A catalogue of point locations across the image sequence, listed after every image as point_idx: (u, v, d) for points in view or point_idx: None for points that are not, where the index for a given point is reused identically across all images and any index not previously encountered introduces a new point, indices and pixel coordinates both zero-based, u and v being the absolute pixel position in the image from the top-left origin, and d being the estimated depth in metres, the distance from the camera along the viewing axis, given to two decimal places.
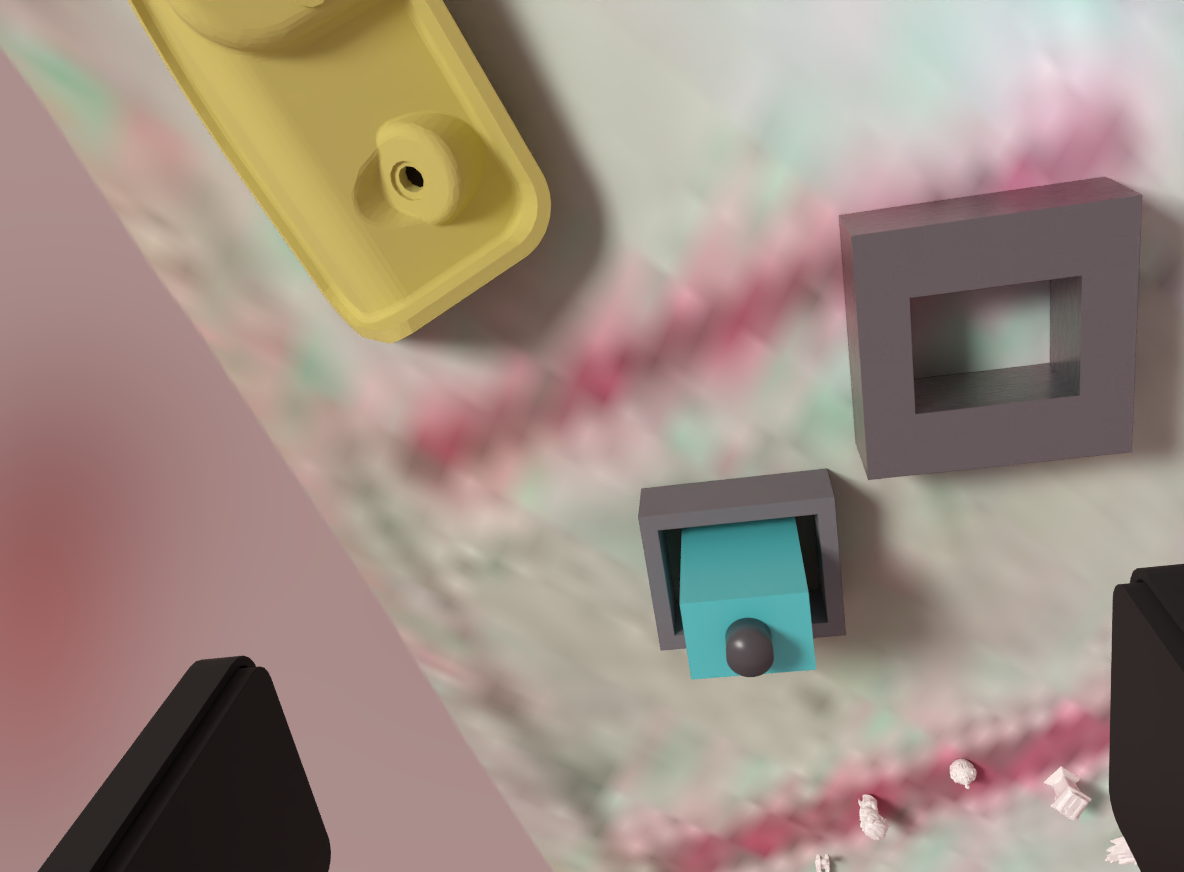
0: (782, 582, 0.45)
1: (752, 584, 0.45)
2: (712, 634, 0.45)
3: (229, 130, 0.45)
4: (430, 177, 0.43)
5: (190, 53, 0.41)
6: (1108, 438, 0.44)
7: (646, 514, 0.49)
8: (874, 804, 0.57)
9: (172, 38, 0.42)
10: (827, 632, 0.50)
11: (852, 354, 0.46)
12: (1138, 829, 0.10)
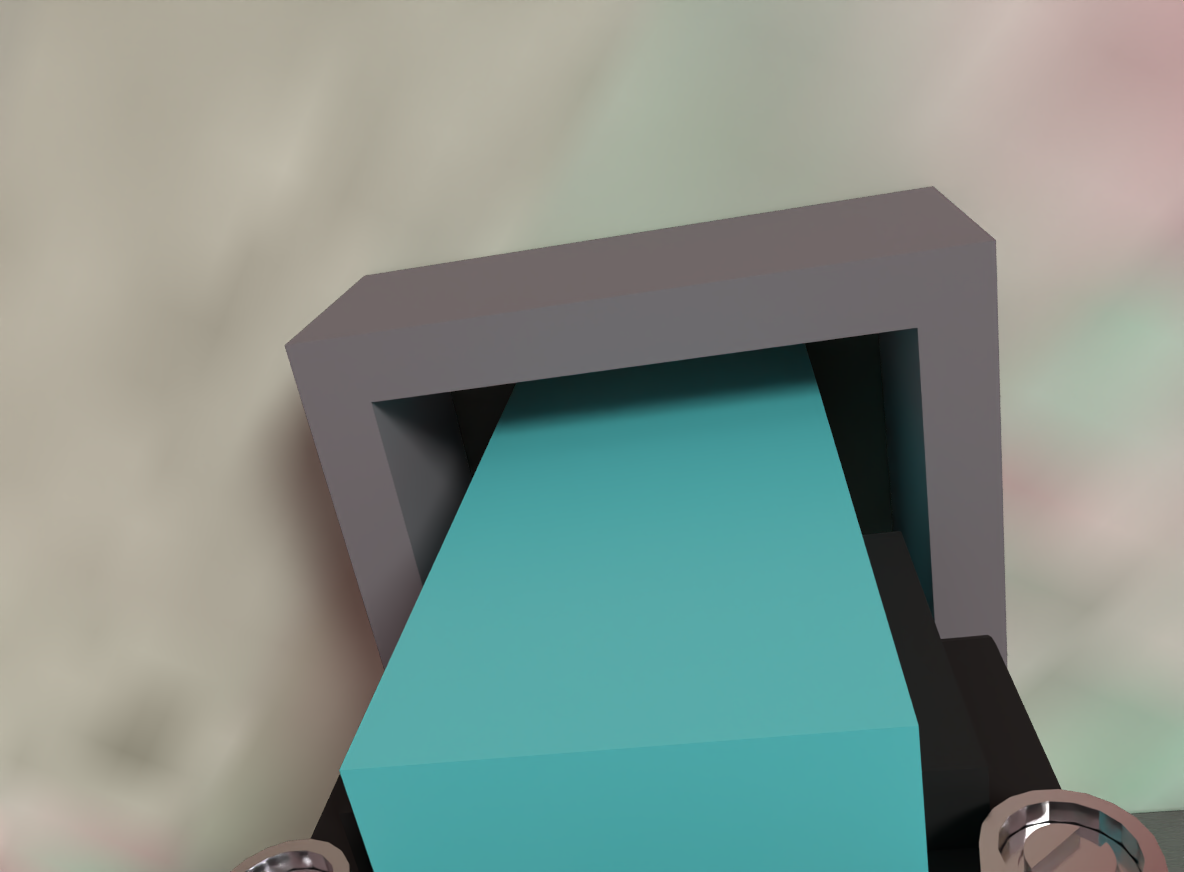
0: None
1: None
2: None
3: None
4: None
5: None
6: None
7: None
8: None
9: None
10: None
11: None
12: None
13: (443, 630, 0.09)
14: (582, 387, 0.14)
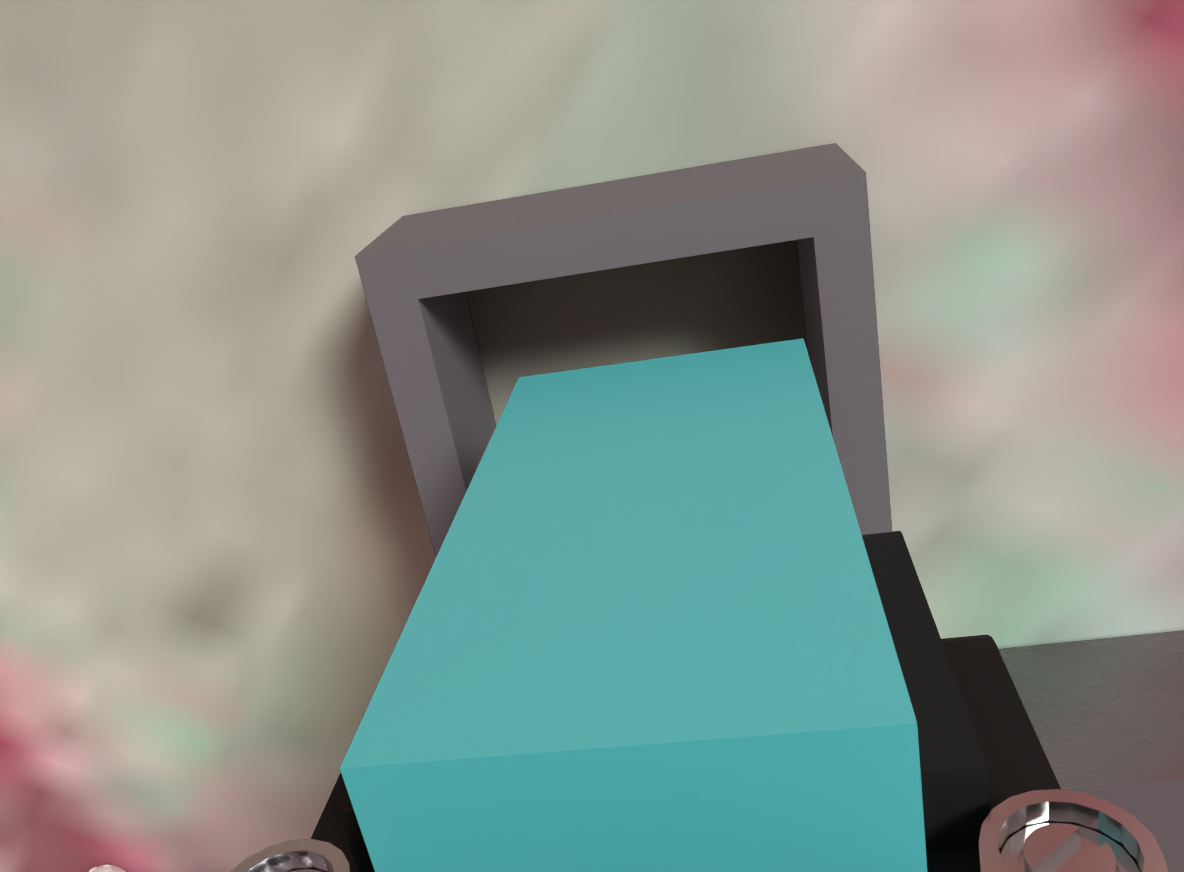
0: None
1: None
2: None
3: None
4: None
5: None
6: None
7: None
8: None
9: None
10: None
11: None
12: None
13: (443, 629, 0.09)
14: (582, 386, 0.14)
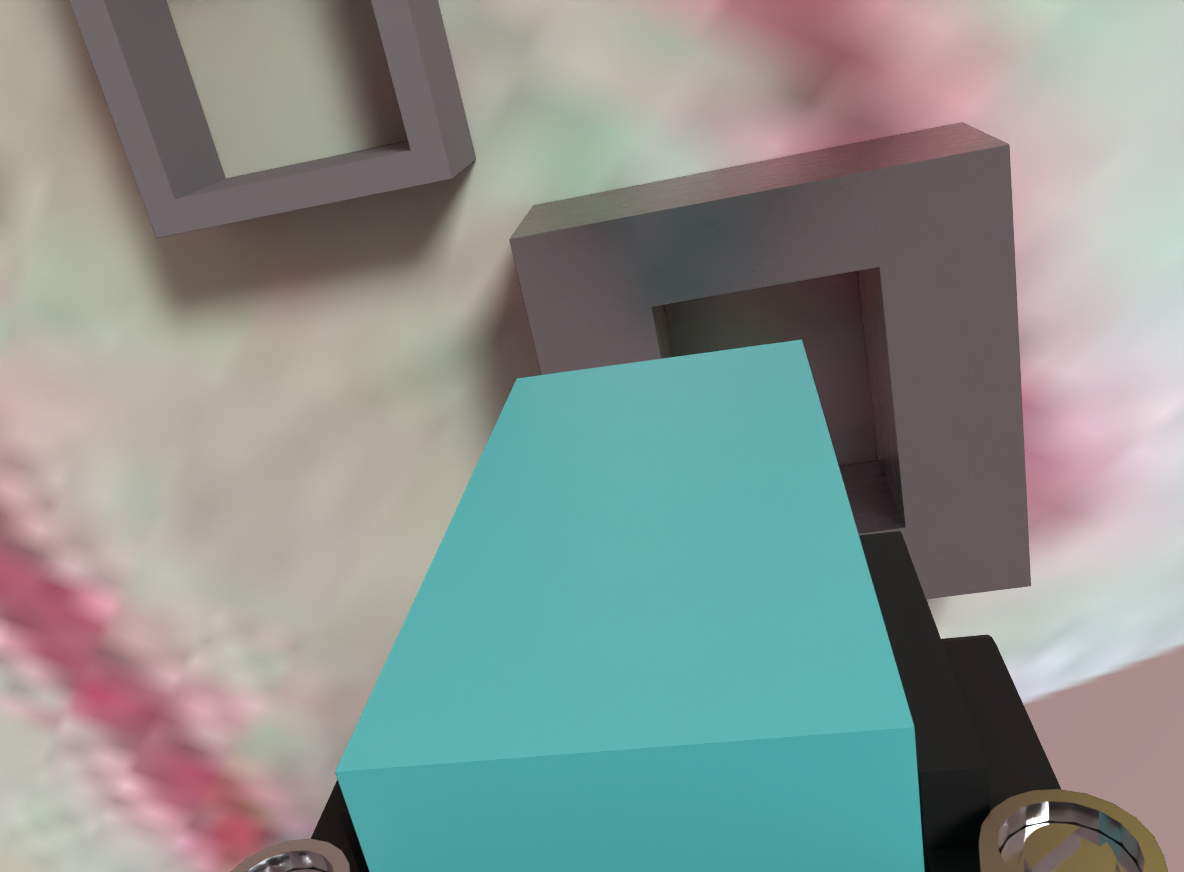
0: None
1: None
2: None
3: None
4: None
5: None
6: None
7: None
8: None
9: None
10: (150, 200, 0.25)
11: (723, 178, 0.25)
12: None
13: (440, 631, 0.09)
14: (580, 388, 0.14)
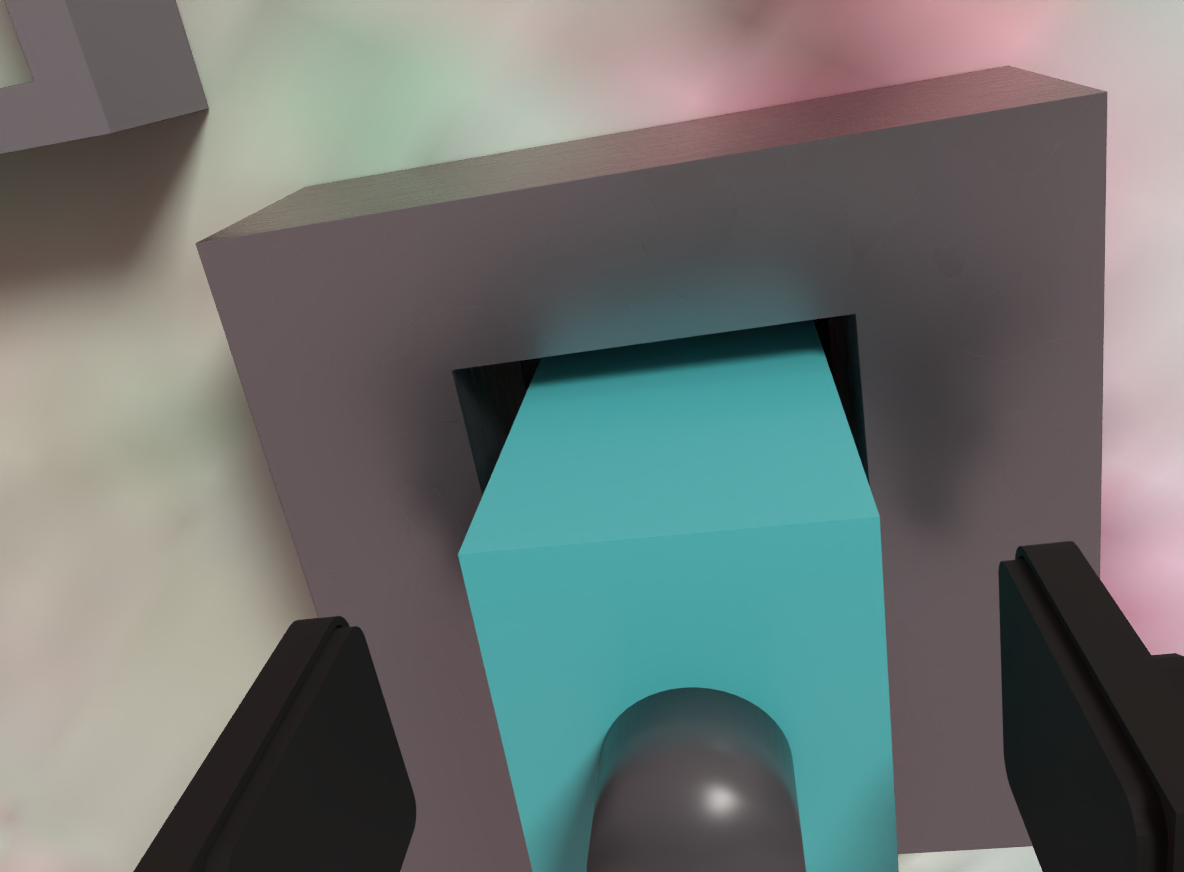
0: None
1: None
2: (706, 640, 0.10)
3: None
4: None
5: None
6: (435, 837, 0.17)
7: None
8: None
9: None
10: None
11: (598, 147, 0.15)
12: (1023, 790, 0.11)
13: (522, 475, 0.11)
14: None
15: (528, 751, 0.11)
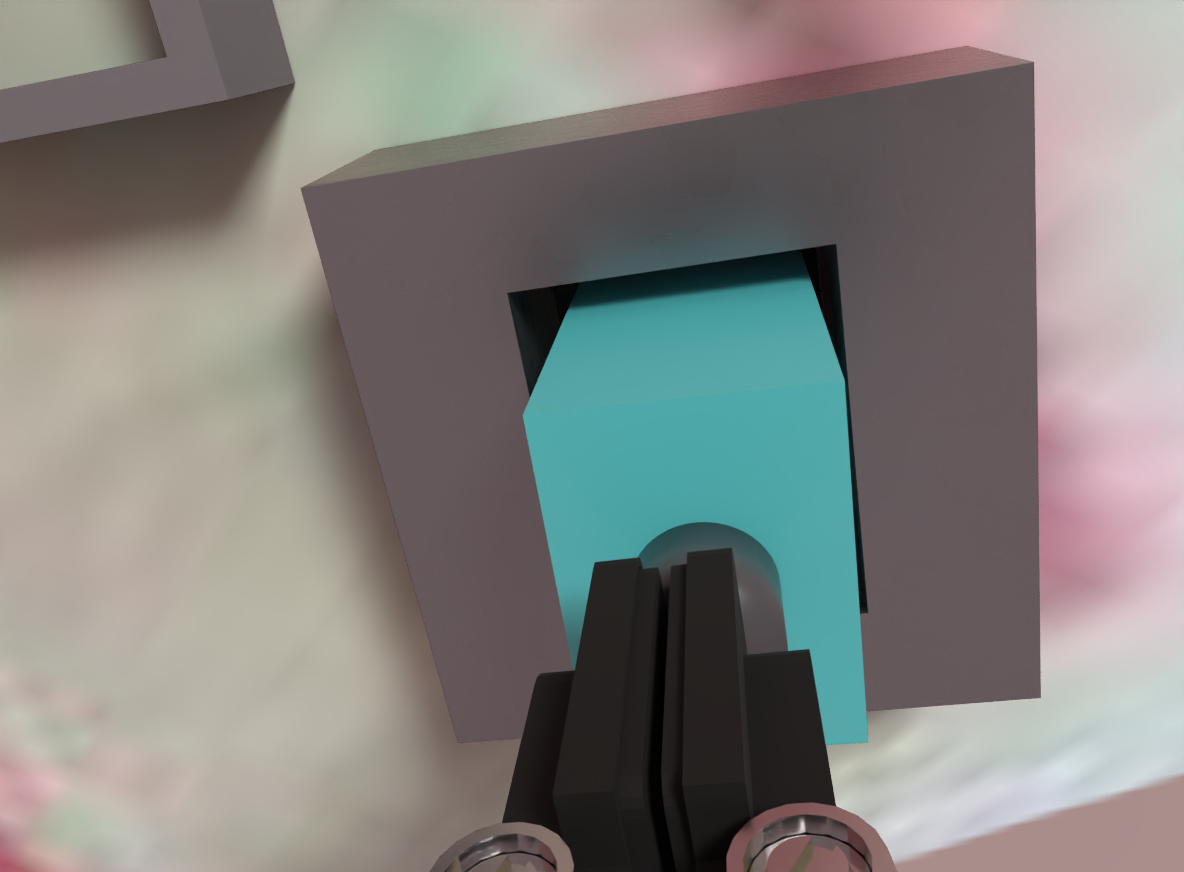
0: None
1: None
2: (713, 482, 0.13)
3: None
4: None
5: None
6: (484, 700, 0.20)
7: None
8: None
9: None
10: None
11: (625, 113, 0.18)
12: None
13: (568, 366, 0.14)
14: None
15: (573, 578, 0.14)
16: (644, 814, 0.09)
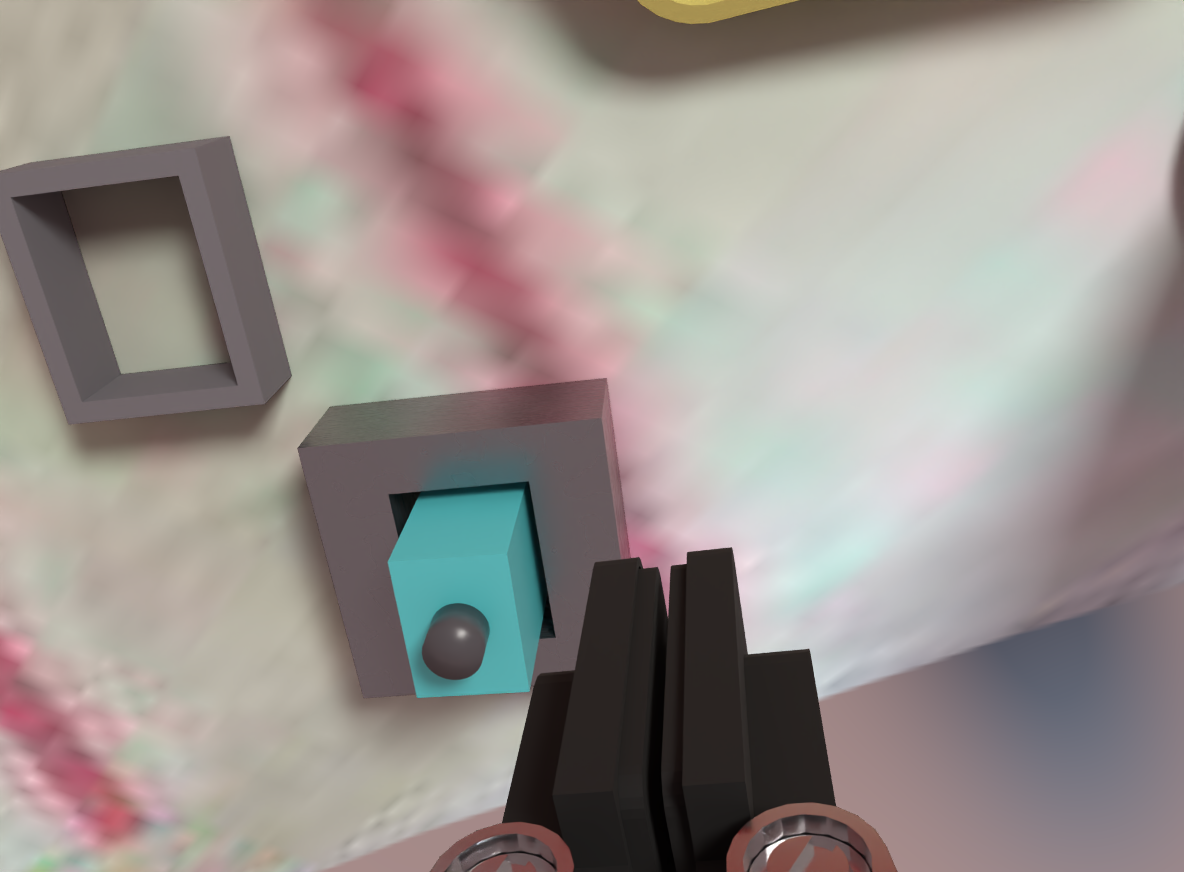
0: (528, 650, 0.36)
1: (524, 618, 0.36)
2: (461, 588, 0.34)
3: None
4: None
5: None
6: (376, 677, 0.41)
7: (200, 158, 0.34)
8: None
9: None
10: (65, 401, 0.38)
11: (447, 407, 0.39)
12: None
13: (409, 536, 0.35)
14: None
15: (408, 623, 0.35)
16: (644, 815, 0.09)
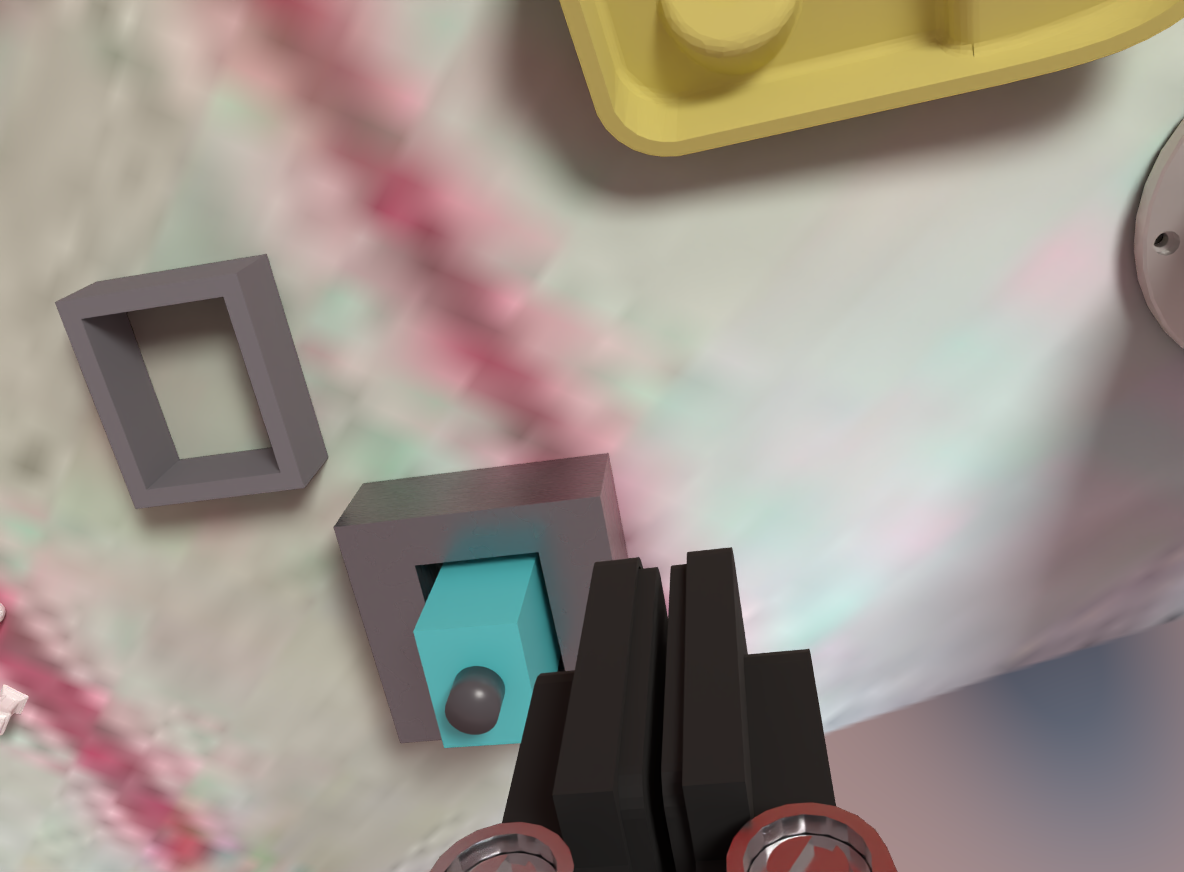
0: None
1: (536, 676, 0.40)
2: (478, 653, 0.39)
3: None
4: (722, 13, 0.34)
5: None
6: (411, 724, 0.45)
7: (241, 281, 0.39)
8: None
9: None
10: (132, 489, 0.43)
11: (465, 484, 0.43)
12: None
13: (433, 605, 0.40)
14: None
15: (433, 684, 0.39)
16: (644, 814, 0.09)
